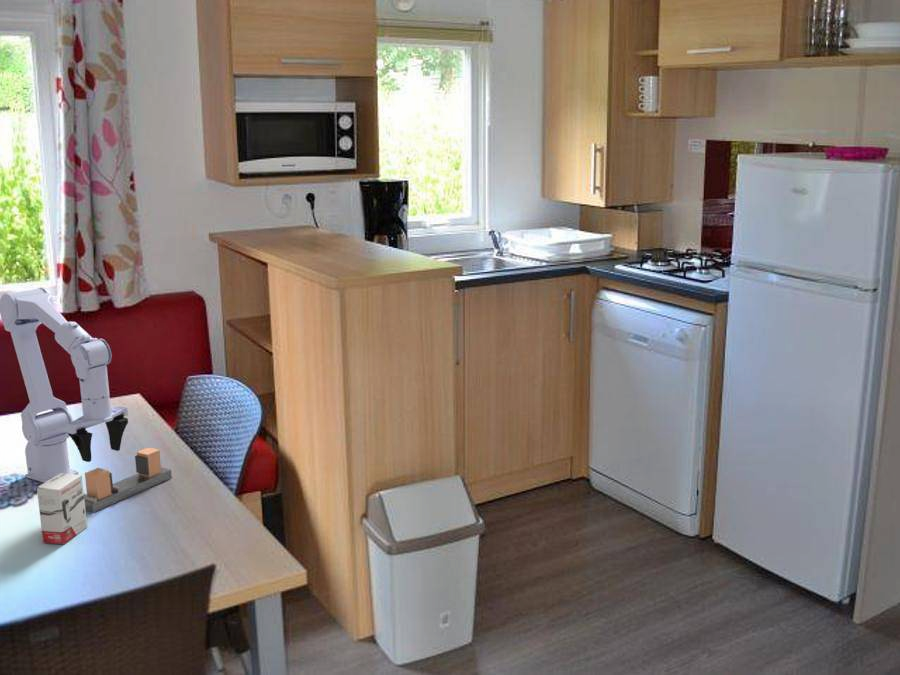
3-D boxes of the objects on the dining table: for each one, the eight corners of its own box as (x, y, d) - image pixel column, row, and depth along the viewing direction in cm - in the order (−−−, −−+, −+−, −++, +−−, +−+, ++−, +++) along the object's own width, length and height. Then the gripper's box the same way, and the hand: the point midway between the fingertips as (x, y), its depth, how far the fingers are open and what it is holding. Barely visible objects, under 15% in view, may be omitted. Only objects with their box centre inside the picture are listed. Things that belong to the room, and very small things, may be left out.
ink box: (64, 545, 187) (57, 489, 184) (42, 543, 187) (35, 488, 185) (88, 526, 195) (83, 473, 192) (67, 524, 196) (61, 471, 193)
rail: (78, 507, 204) (76, 494, 203) (156, 473, 222) (155, 461, 222) (93, 512, 201) (92, 499, 201) (171, 477, 220) (170, 465, 219)
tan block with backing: (87, 496, 205) (84, 473, 203) (102, 490, 208) (100, 466, 207) (98, 500, 203) (95, 476, 202) (113, 493, 206) (111, 469, 205)
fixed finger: (136, 475, 216) (134, 452, 215) (150, 469, 219) (148, 447, 218) (147, 478, 214) (145, 455, 213) (161, 472, 218) (159, 450, 216)
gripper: (79, 408, 196) (85, 469, 199) (134, 390, 208) (140, 448, 211) (57, 402, 199) (63, 463, 203) (113, 385, 211) (118, 442, 215)
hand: (101, 455), depth 207 cm, fingers open, 7 cm apart
